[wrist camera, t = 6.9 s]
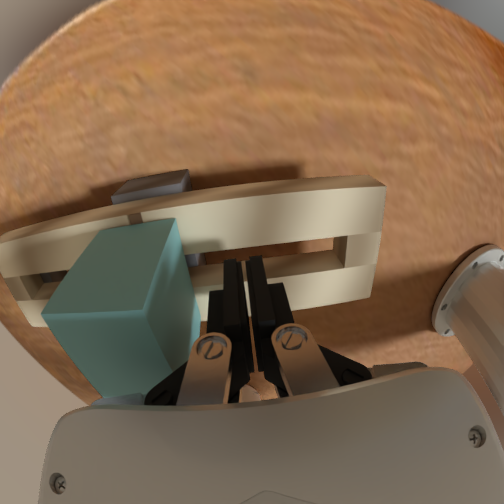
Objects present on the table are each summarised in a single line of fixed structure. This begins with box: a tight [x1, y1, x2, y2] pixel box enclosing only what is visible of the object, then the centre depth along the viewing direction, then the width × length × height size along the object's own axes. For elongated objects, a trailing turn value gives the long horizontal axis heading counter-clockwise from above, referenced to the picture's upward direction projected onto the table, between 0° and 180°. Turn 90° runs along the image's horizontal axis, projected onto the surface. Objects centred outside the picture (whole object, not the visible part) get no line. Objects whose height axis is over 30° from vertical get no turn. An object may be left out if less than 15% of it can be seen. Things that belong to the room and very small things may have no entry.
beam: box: [0, 169, 386, 327], centre depth 16 cm, size 24×8×5 cm, turn 95°
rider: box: [41, 218, 201, 398], centre depth 12 cm, size 4×6×8 cm, turn 5°
